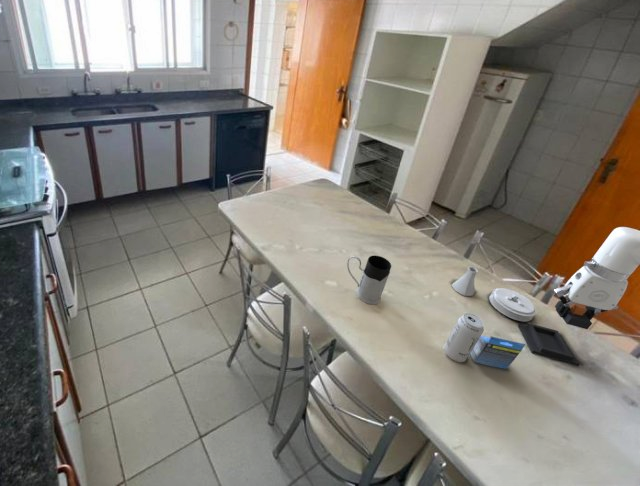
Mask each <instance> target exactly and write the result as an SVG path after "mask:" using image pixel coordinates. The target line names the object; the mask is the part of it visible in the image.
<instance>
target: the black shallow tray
mask: <svg viewBox="0 0 640 486" xmlns="http://www.w3.org/2000/svg"><path fill="white" fill-rule="evenodd" d="M517 327H518V329H519V331H520V333H521V335H522V337H523V339H524V340H525V342H526V343H525V344H527V346H528V348H529V351H530V353H531V354H535V355H538V356H542V357H544V358H548V359H552V360H555V361H559V362H562V363H565V364H569V365H572V366H576V367H579V366H580V365H581V363H580V361H579V360H578V359H577V357H576V356H575V355H576V354H574V352H573V351H572V348H570V346H569V344H568V343H567V341H566V340H565V338H564V337H563V335H562V334H560V333H559V331H558V330H557V329H553V328H548V327H545V326H541V325H538V324H534V323H530V322H527V324H525V323H520V322H519V323H518V324H517Z"/></svg>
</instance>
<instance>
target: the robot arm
mask: <svg viewBox="0 0 640 486" xmlns="http://www.w3.org/2000/svg"><path fill="white" fill-rule="evenodd" d="M639 265H640V230H638V229H635V228H633V227H632V228H631V227H627V226H619V227H616V228H614V229H613V230H612V231H611V232H610V234H609V235H608V236H607V238H606V239H605V240H604V242H603V243H602V245H601V246H600V247H599V249H598V250H597V251H596V253H594V255H593V256H592V257H591V259H590V260H589V261H588V260H585V261H584V262H583V266H582V267H581V268H579V269H578V270H577V271H576V272H575V273H574V274H572V276H571V277H570V278H569V279H568V280H567V281H566V283H565V284H564V285H563V286H561V287H557V288H554V289H553V292H554V293H555V295H556V296H557V297H558V299H559V301H561V302H560V304H559V305H558V306H557V308H555V312H556V313H557V314H558V316H559V317H560V318H562V319H563V317H565V315H566V314H567V313H568V312H569V310H570V306H571V305H572V304H574V303H579V304H583V305H584V307H585V308H586V309H587V311H586V312H585V315H586V316H587V317H588V319H589V320H590V321H591V320H592V319H593V318H594V317H595V316H598V315H601V314H602V313H604V312H608V311H613V310H618V309H619V305H618V303H619V302H620V301H621V300H622V298H623V296H624V294H625V292H626V291H627V287H628V285H629V281H628V278H629V277H630V276H631V275H632V274H633V273H634V272H635V270H636V269H637V268H638V267H639Z"/></svg>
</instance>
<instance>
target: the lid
mask: <svg viewBox="0 0 640 486" xmlns="http://www.w3.org/2000/svg"><path fill="white" fill-rule="evenodd" d="M488 299H489V302H490V304H491V305H492V307H493V308H495V310H496V311H498V312H499V313H501V314H502V315H504V316H506V317H508V318H510V319H512V320H515V321H518V322H524V323H528V322H531V321H532V320H533V317H534V316H535V315H536V314H537V309H536V307H535V305H534V304H533V303H532V302H531V301H530V299H529V298H527V297H526V296H524V295H523V294H521V293H519V292H517V291H515V290H513V289H509V288H503V287H501V288H500V287H499V288H498V287H497V288H494V289H493V290H492V292H491V294H490V295H489V297H488Z"/></svg>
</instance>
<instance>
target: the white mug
mask: <svg viewBox="0 0 640 486" xmlns="http://www.w3.org/2000/svg"><path fill="white" fill-rule="evenodd" d="M352 258H353V259H357V260H358V262H359V266H358V267H359V270H360V271H362V274H361V279H360V280H359V282H358V280H357V278H356V277H355V276H354V275H353V273H352V272H351V270H350V266H349V263H350V259H352ZM346 266H347V267H346V268H347V271H348V273H349V275H350V276H351V278H352V279H353V281H355V283H356V285H357V288H356V289H355V295H356V297H357V298H358V299H359V300H360V301H362V302H363V303H365V304H368V305H373V306H374V305H378V304H380V303H381V302H382V295H383V292H384V289H385V287H386V284H387V281H388V279H389V276H390V274H391V270H392V264H391V262H390V261H389V260H388V259H387V258H385V257H383V256H380V255H370V256H369V257H368V258H367V261H366V264H365V267H364V269H363V268H362V267H361V266H362V260H361V259H360V257H358V256H355V255H352V256H349V258H348V259H347V263H346Z"/></svg>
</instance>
